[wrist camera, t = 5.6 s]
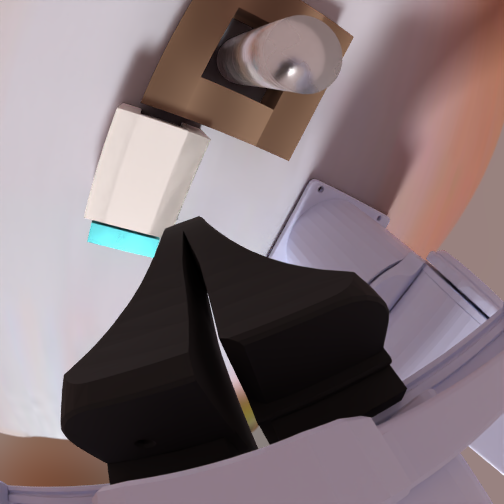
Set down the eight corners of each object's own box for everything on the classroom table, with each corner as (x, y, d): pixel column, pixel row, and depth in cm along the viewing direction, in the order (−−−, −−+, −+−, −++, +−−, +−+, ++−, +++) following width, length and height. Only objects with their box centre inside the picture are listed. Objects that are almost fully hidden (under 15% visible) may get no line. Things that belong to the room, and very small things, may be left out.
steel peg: (276, 50, 16) (354, 44, 10) (254, 92, 17) (320, 108, 11) (231, 27, 14) (288, 0, 8) (207, 72, 16) (249, 69, 9)
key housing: (200, 128, 17) (210, 139, 15) (164, 215, 20) (168, 239, 17) (122, 102, 15) (117, 107, 12) (92, 195, 17) (83, 217, 15)
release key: (192, 129, 17) (200, 139, 15) (151, 233, 20) (153, 257, 17) (129, 108, 15) (125, 114, 13) (94, 218, 18) (87, 241, 15)
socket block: (331, 38, 16) (353, 37, 14) (272, 150, 20) (288, 161, 18) (210, -28, 12) (219, -42, 10) (141, 99, 15) (140, 102, 13)
